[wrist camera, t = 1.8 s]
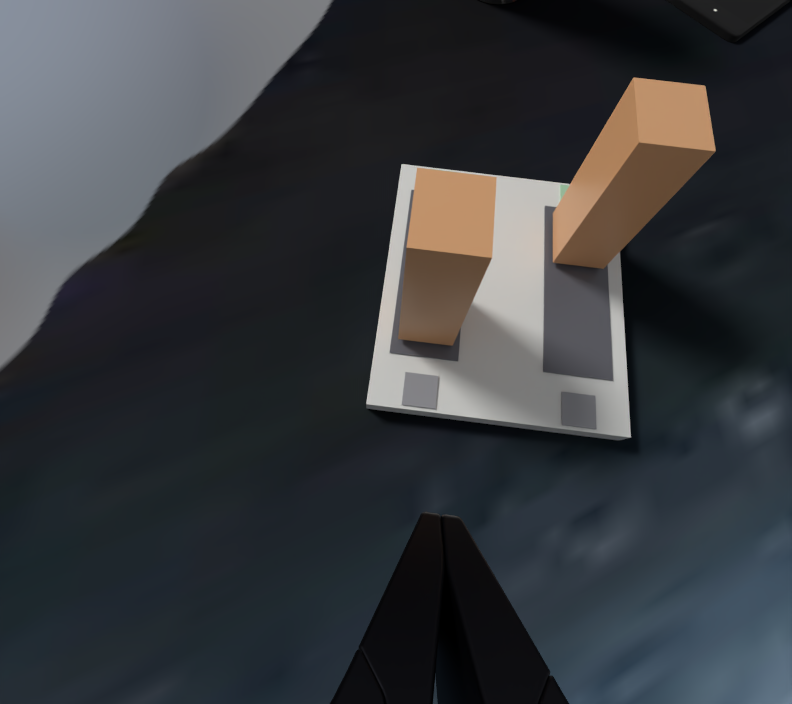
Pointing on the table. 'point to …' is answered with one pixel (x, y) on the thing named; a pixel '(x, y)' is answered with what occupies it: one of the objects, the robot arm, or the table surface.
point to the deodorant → (498, 1)
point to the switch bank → (512, 331)
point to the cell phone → (729, 14)
